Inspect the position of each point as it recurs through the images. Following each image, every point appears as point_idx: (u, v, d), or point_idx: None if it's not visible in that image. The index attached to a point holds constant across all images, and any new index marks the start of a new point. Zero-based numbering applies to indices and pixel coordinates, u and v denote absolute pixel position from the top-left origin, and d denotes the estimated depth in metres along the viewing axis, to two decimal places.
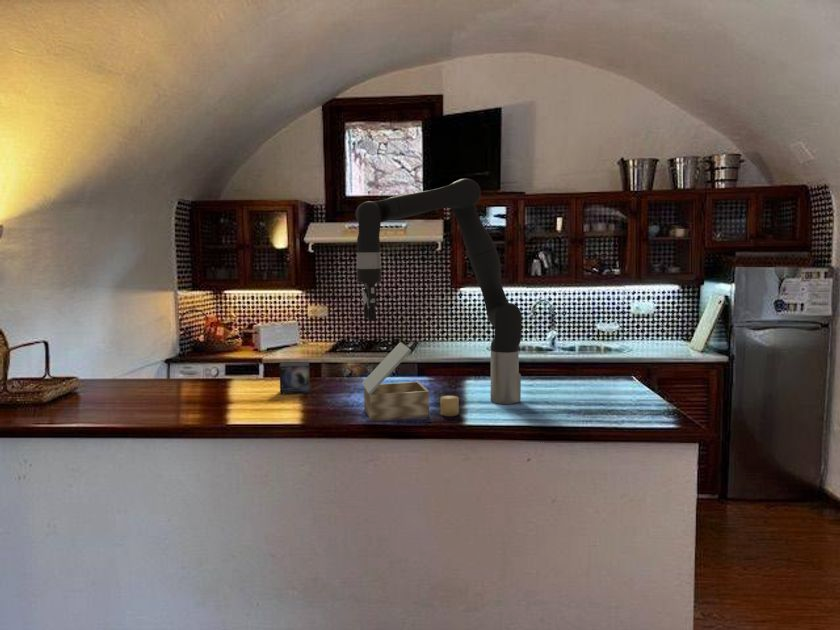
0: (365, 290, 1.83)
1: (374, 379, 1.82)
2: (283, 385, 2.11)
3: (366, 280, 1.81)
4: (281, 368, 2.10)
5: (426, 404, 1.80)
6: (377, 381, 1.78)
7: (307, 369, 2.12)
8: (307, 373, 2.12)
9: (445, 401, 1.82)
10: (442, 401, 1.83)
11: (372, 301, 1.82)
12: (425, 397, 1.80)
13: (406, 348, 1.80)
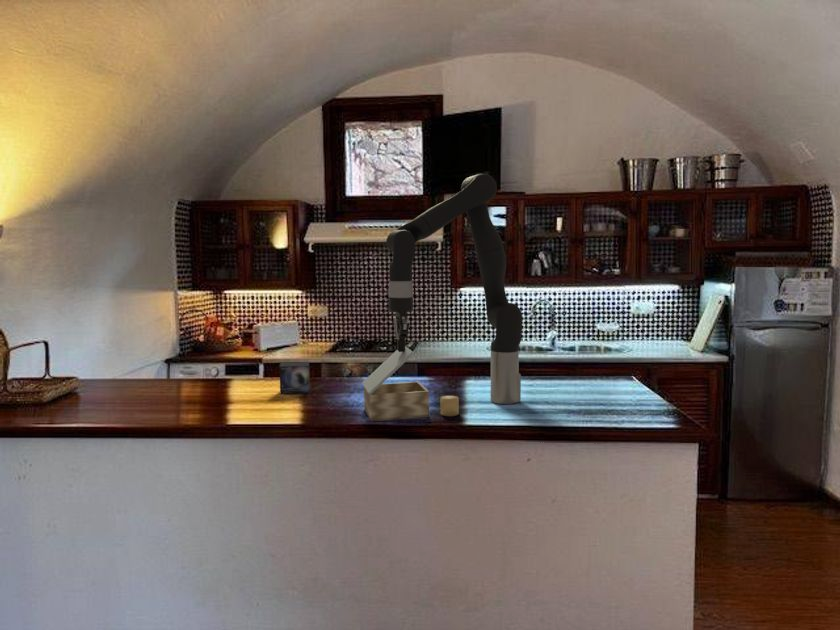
0: (397, 320, 1.81)
1: (375, 379, 1.82)
2: (283, 385, 2.11)
3: (398, 309, 1.79)
4: (281, 368, 2.10)
5: (426, 404, 1.80)
6: (378, 382, 1.78)
7: (307, 369, 2.12)
8: (307, 373, 2.12)
9: (445, 401, 1.82)
10: (442, 401, 1.83)
11: None
12: (425, 397, 1.80)
13: (409, 350, 1.80)
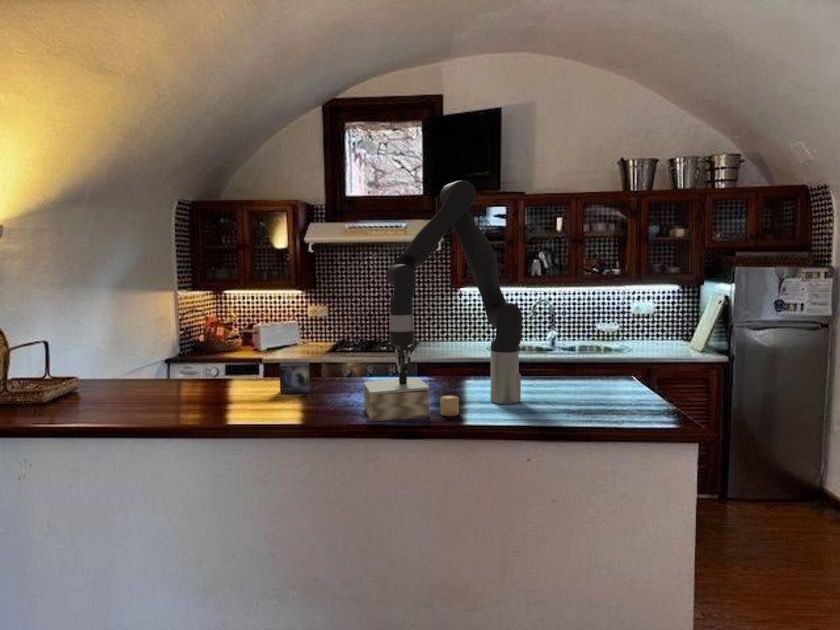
0: (398, 354, 1.82)
1: (380, 386, 1.82)
2: (283, 385, 2.11)
3: (400, 343, 1.80)
4: (281, 368, 2.10)
5: (426, 404, 1.80)
6: (383, 389, 1.78)
7: (307, 369, 2.12)
8: (307, 373, 2.12)
9: (445, 401, 1.82)
10: (442, 401, 1.83)
11: None
12: (425, 397, 1.80)
13: (425, 385, 1.83)
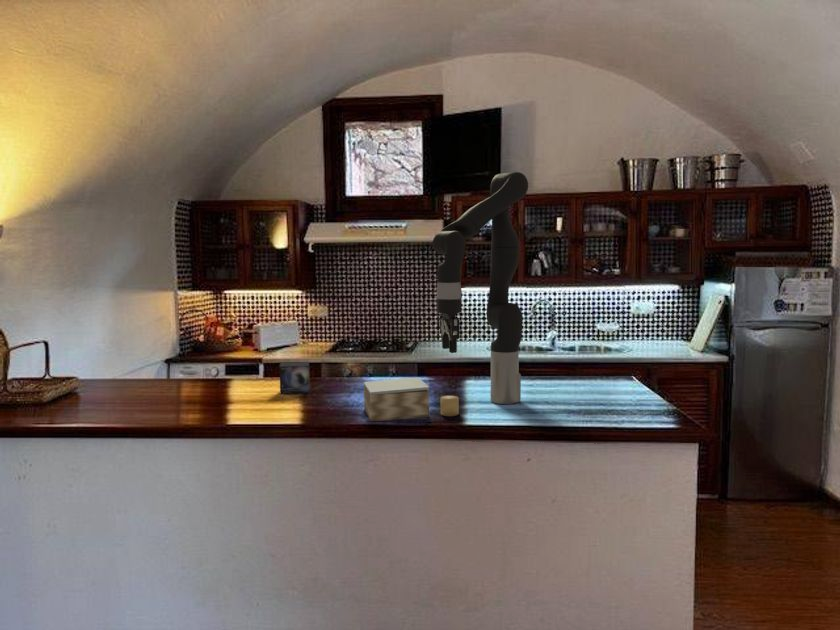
0: (446, 321, 1.79)
1: (380, 386, 1.82)
2: (283, 385, 2.11)
3: (448, 311, 1.77)
4: (281, 368, 2.10)
5: (426, 404, 1.80)
6: (383, 389, 1.78)
7: (307, 369, 2.12)
8: (307, 373, 2.12)
9: (445, 401, 1.82)
10: (442, 401, 1.83)
11: (453, 332, 1.79)
12: (425, 397, 1.80)
13: (425, 385, 1.83)
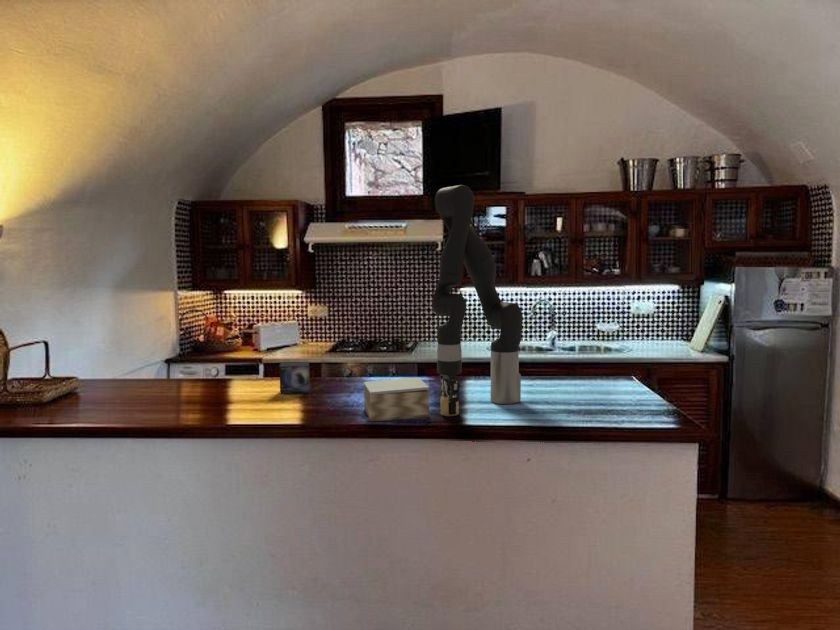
0: (446, 382, 1.81)
1: (380, 386, 1.82)
2: (283, 385, 2.11)
3: (448, 372, 1.79)
4: (281, 368, 2.10)
5: (426, 404, 1.80)
6: (383, 389, 1.78)
7: (307, 369, 2.12)
8: (307, 373, 2.12)
9: (445, 401, 1.82)
10: (442, 401, 1.83)
11: (453, 394, 1.81)
12: (425, 397, 1.80)
13: (425, 385, 1.83)
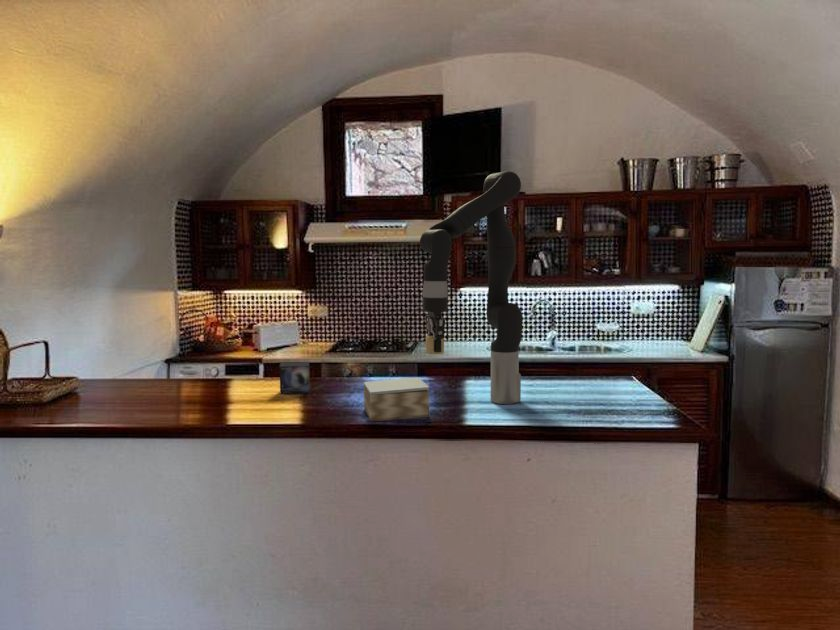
0: (432, 320, 1.79)
1: (380, 386, 1.82)
2: (283, 385, 2.11)
3: (433, 309, 1.78)
4: (281, 368, 2.10)
5: (426, 404, 1.80)
6: (383, 389, 1.78)
7: (307, 369, 2.12)
8: (307, 373, 2.12)
9: (430, 339, 1.80)
10: (427, 339, 1.81)
11: (438, 332, 1.79)
12: (425, 397, 1.80)
13: (425, 385, 1.83)
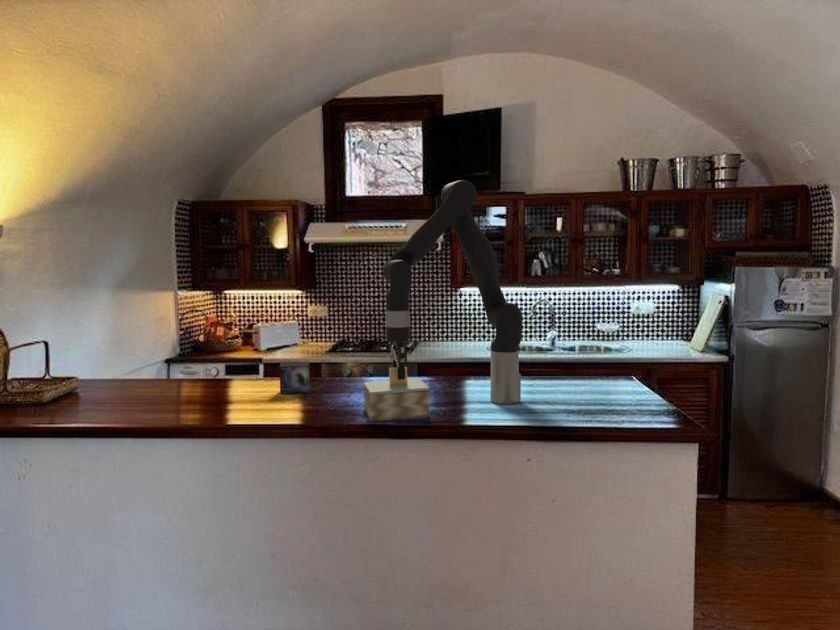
0: (394, 348, 1.82)
1: (380, 387, 1.82)
2: (283, 385, 2.11)
3: (396, 339, 1.80)
4: (281, 368, 2.10)
5: (426, 404, 1.80)
6: (383, 390, 1.78)
7: (307, 369, 2.12)
8: (307, 373, 2.12)
9: (393, 371, 1.82)
10: (390, 372, 1.83)
11: (401, 360, 1.81)
12: (425, 397, 1.80)
13: (425, 385, 1.83)
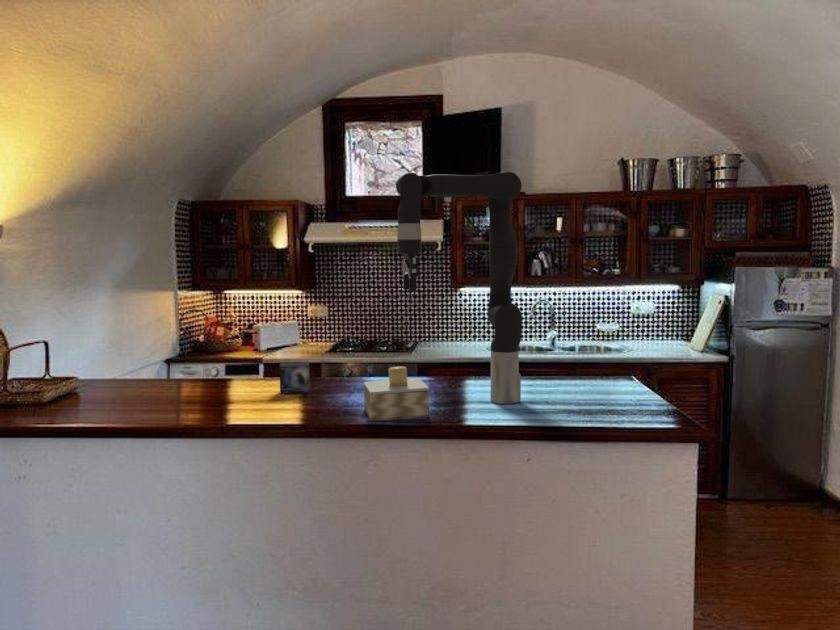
0: (406, 261, 1.85)
1: (380, 387, 1.82)
2: (283, 385, 2.11)
3: (407, 251, 1.83)
4: (281, 368, 2.10)
5: (426, 404, 1.80)
6: (383, 390, 1.78)
7: (307, 369, 2.12)
8: (307, 373, 2.12)
9: (392, 371, 1.82)
10: (389, 372, 1.83)
11: (413, 271, 1.84)
12: (425, 397, 1.80)
13: (425, 385, 1.83)
